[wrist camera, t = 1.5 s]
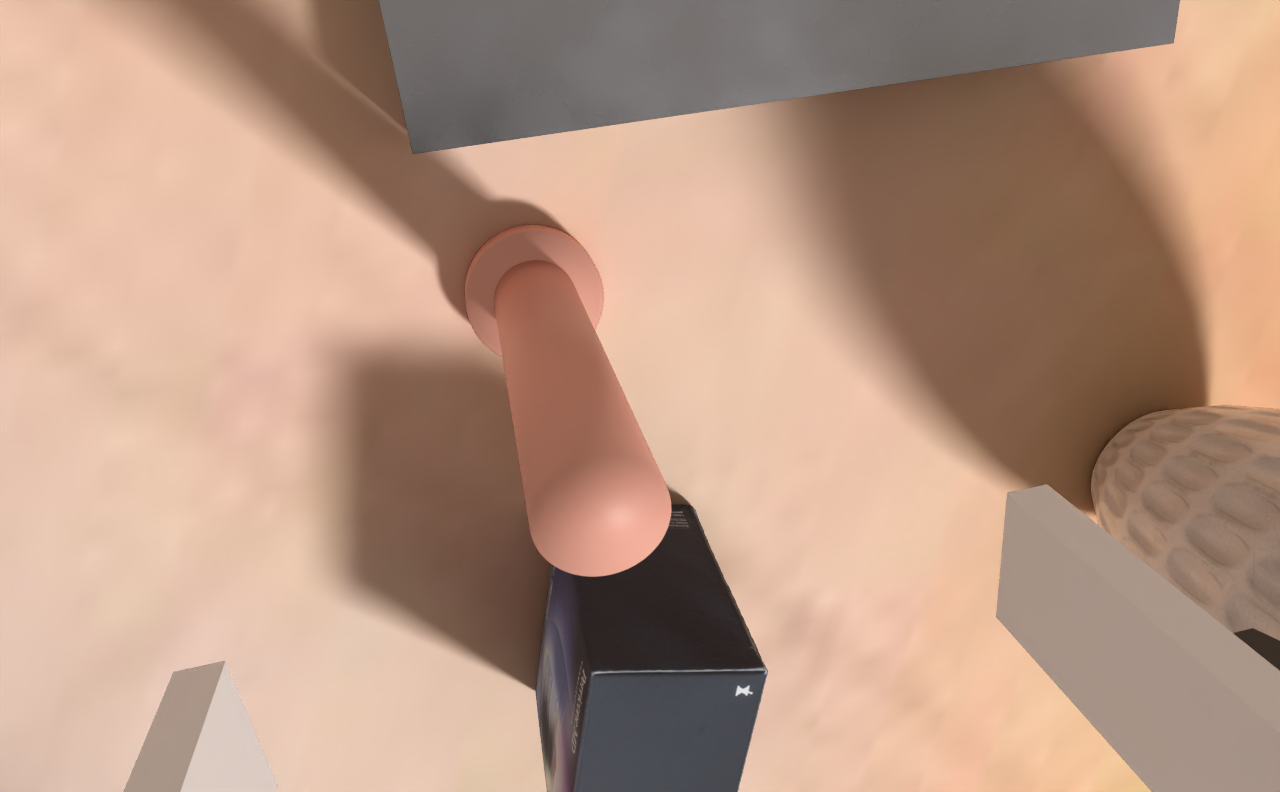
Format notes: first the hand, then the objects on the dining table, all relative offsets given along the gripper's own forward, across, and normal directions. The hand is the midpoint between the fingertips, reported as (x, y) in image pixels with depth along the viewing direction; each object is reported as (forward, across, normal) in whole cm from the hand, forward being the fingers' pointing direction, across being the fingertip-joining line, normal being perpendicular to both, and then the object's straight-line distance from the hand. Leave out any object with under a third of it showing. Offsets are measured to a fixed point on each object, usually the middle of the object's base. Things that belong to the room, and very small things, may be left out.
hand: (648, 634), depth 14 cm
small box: (+20, +1, -15) cm, 25 cm away
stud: (+20, 0, 0) cm, 20 cm away
